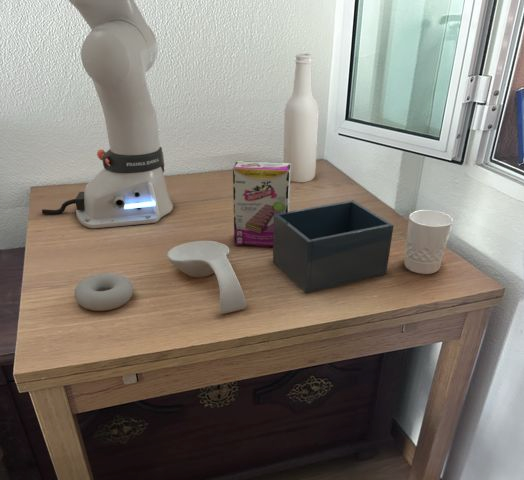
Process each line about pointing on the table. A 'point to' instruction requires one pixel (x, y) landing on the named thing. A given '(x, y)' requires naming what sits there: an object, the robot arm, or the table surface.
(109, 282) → the donut
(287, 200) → the candy bar box
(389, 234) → the holder
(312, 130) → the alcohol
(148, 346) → the table surface
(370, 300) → the table surface
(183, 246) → the spoon rest
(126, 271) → the table surface
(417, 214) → the white cup
